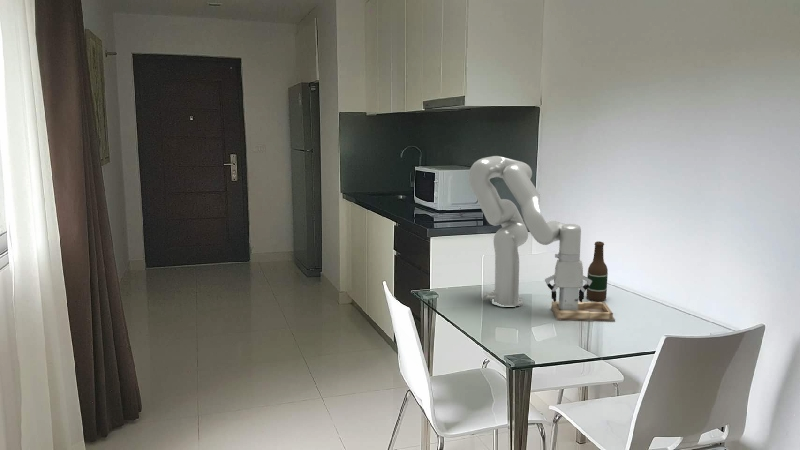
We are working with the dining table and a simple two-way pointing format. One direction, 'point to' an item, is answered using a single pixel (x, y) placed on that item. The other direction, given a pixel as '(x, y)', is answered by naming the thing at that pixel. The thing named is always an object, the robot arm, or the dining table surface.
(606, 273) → the beer bottle
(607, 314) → the wooden tray
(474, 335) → the dining table surface
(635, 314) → the dining table surface
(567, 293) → the skincare box
